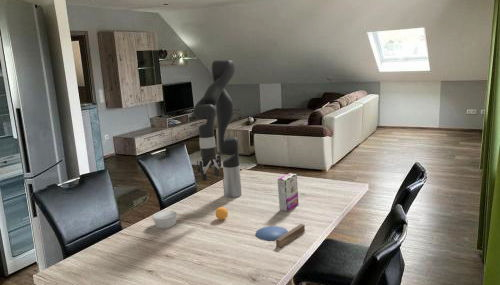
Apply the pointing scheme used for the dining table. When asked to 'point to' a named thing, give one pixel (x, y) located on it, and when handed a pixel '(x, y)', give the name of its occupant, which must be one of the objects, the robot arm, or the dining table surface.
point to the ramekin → (165, 219)
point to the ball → (221, 213)
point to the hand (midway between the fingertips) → (210, 178)
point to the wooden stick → (290, 235)
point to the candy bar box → (288, 192)
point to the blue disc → (270, 233)
